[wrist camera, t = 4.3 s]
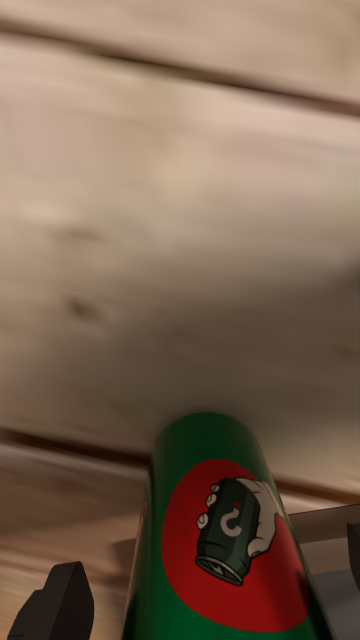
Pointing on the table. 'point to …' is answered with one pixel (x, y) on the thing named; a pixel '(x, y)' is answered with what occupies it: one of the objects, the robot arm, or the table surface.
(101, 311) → the table surface
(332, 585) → the grey hollow square frame
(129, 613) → the soda can
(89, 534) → the table surface
